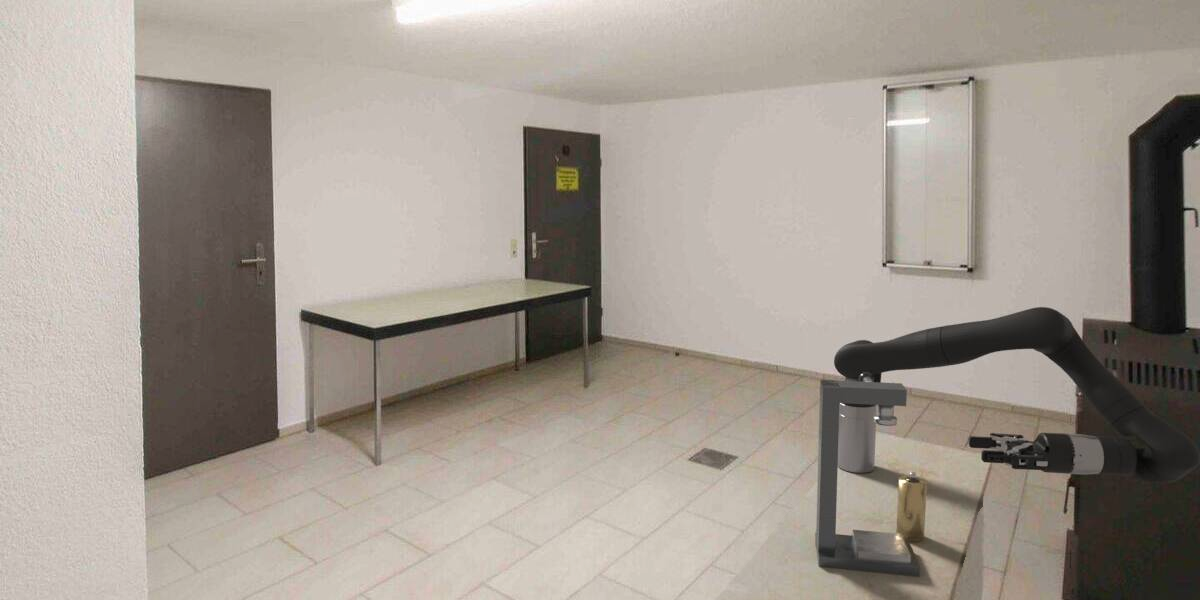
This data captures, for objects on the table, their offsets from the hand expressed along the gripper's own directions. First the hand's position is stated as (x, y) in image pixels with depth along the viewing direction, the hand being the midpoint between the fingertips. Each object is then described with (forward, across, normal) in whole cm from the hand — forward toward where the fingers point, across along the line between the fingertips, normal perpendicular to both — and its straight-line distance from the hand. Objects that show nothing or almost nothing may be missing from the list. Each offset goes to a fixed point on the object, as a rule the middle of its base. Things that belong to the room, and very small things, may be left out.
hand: (975, 448), depth 135 cm
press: (+22, +7, +19) cm, 30 cm away
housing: (+11, 0, +19) cm, 22 cm away
